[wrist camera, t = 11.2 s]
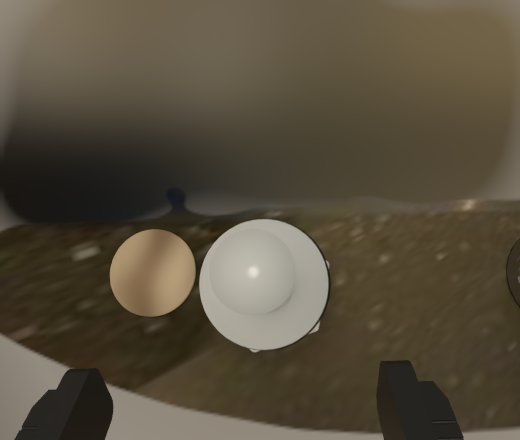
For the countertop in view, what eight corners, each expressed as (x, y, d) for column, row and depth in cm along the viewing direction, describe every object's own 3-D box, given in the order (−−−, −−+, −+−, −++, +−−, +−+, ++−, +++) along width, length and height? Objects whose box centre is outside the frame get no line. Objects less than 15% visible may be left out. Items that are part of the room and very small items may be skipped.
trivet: (195, 228, 38) (194, 227, 37) (196, 314, 36) (195, 314, 36) (114, 232, 38) (111, 231, 38) (110, 318, 37) (108, 318, 36)
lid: (322, 220, 25) (336, 179, 17) (331, 345, 24) (351, 364, 16) (203, 226, 26) (163, 189, 18) (204, 349, 24) (160, 369, 16)
